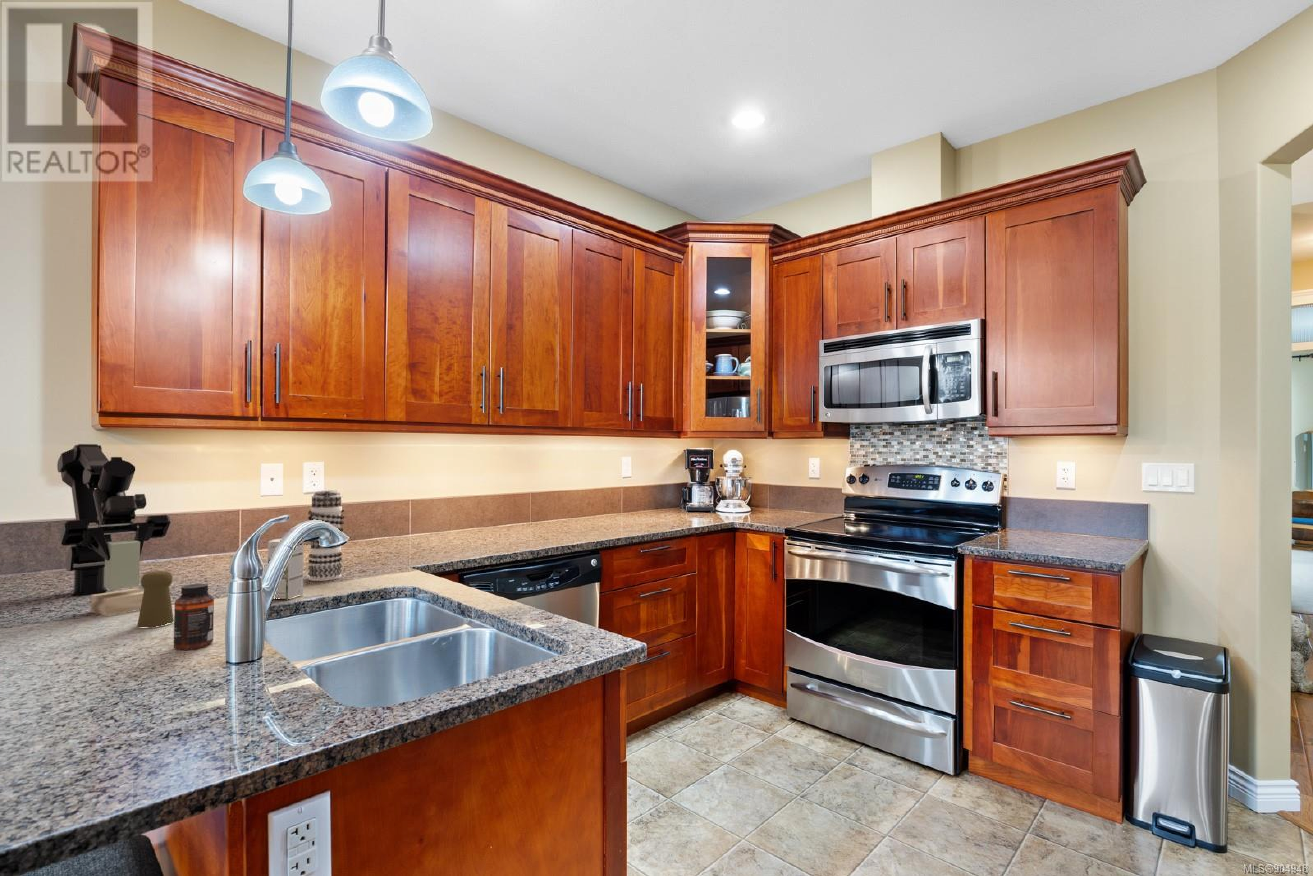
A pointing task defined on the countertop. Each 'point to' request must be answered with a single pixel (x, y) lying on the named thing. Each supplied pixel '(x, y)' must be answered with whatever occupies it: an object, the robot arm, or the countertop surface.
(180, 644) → the supplement bottle
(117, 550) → the sage block
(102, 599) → the maple block
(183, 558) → the countertop surface
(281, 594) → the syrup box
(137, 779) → the countertop surface
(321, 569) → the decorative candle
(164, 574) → the cork
